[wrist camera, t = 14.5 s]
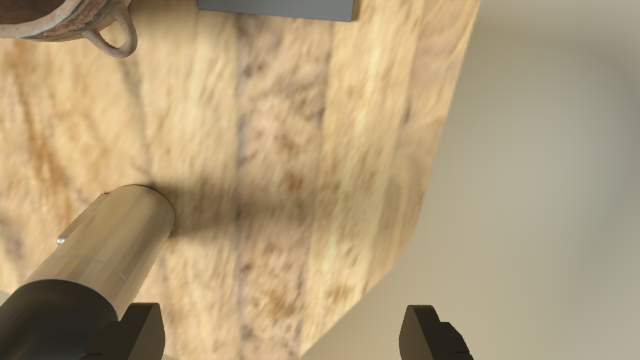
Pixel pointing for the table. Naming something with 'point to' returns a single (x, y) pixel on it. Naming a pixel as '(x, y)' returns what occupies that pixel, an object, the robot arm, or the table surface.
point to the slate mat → (285, 8)
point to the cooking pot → (67, 22)
